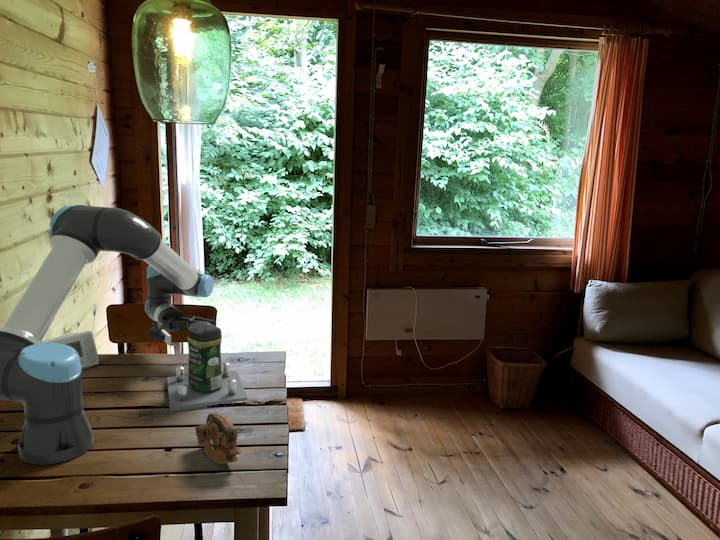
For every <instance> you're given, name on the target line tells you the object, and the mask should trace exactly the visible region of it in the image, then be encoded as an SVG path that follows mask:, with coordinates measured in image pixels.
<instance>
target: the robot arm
mask: <svg viewBox="0 0 720 540" xmlns="http://www.w3.org/2000/svg"><path fill="white" fill-rule="evenodd" d="M49 227H50V229H48V234H49V238H50V239H49V244H50V246H51V250H50V251H49V253H48V255H47V256H46V258H45V259H44V261H43V263H42V264H41V266H40V267H39V268H38V270H37V272H36V273H35V276H34V277H33V278H32V280H31V282H30V283H29V285H28V286H27V288H26V290H25V291H24V293H23V295H22V296H21V298H20V299H19V301H18V302H17V304H16V306H15V308H14V309H13V311H12V312H11V314H10V316H9V317H8V319H7V320H6V322H5V323H4V325H3V326H2V327H1V328H0V400H2V401H3V400H4V401H10V402H16V403H20V404H21V403H22V404H23V413H24V415H23V416H24V422H23V423H24V424H23V427H22V430H21V433H20V435H19V437H20V438H19V440H18V444H17V452H18V458H19V459H20V460H21V461H23V462H24V463H27V464H32V465H40V466H41V465H45V466H46V465H53V464H59V463H64V462H67V461H70V460H72V459H75V458H78V457H80V456H82V455H83V454H85V453H86V452H88V451H89V450H90V449H91V448H92V447H93V445H94V441H95V438H94V431H93V428H92V427H91V424H90V422H89V419H88V417H87V416H86V414H85V411H84V399H83V380H82V371H83V370H82V368H81V364H80V358H79V355H78V352H77V351H76V350H75V349H74V348H72V347H70V346H68V345H64V344H60V343H49V344H46V343H40V342H42V341H43V339H44V337H45V335H46V334H47V331H48V330H49V328H50V326H51V324H52V322H54V319H55V317H56V316H57V315H58V312H59V310H60V309H61V307H62V305H63V304H64V302H65V300H66V298H67V297H68V295H69V293H70V291H71V290H72V288H73V287H74V285H75V282H76V281H77V279H78V278H79V275H80V274H81V272H82V271H83V269H84V267H85V266H86V265H87V264H91V263H93V262H94V261H95V260H96V258H97V257H98V255H99V253H100V252H115V253H120V254H126V255H129V256H131V257H132V258H134V259H136V260H141V261H143V262H145V263H146V264H147V265H148V266H147V268H146V286H147V299H146V301H145V304H144V311H145V313H146V315H147V316H148V318H150V319H151V320H153V321H152V326H151V328H150V329H149V339H150V340H153V339H155V338H156V341H157V342H161V341H163V342H164V343H165V344H167V345H168V346H171V345H172V335H171V334H169V333H175V332H178V331H180V330H188V327H189V326H190V324H192V323H196V322H201V321H204V322H205V323H209V324H211V325H214V326H216V327H217V320H215V319H214V320H213V319H209V318H206V317H201V316H198V315H192V317H186V316H185V315H184V313H183V312H182V311H181V310H180V309H179V308H177V307H176V306H175V305H173V303H172V301H173V299H172V297H173V296H172V295H177V296H184V297H185V296H186V297H194V298H195V297H196V298H208V297H210V296H211V294H212V293H213V290H214V287H215V286H214V279H213V277H212V276H211V275H210V274H207V273H206V274H205V273H199V272H198V271H196V270H195V269H194V268H193V267H192V266H191V265H190V264H189V263H188V262H187V261H186V260H184V259H183V258H182V257H181V256H180V255H179V254H178V253H177V252H176V251H175V250H173V249H172V248H171V247H170V246H169V245H168V244H167V243H166V242H164V241H163V240H162V236H161V233H160V232H159V231H158V230H157V229H155V228H154V227H153V226H152V225H151V224H150V223H148V222H147V221H146V220H144V219H143V218H141V217H139V216H138V215H137V214H134V213H132V212H130V211H129V210H126V209H123V208H119V207H108V206H106V207H105V206H95V205H94V206H93V205H84V204H73V205H65V206H61V207H60V208H59V209H58V210H56V211H55V213H54V214H53V215H52V217H51V219H50V221H49Z"/></svg>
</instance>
